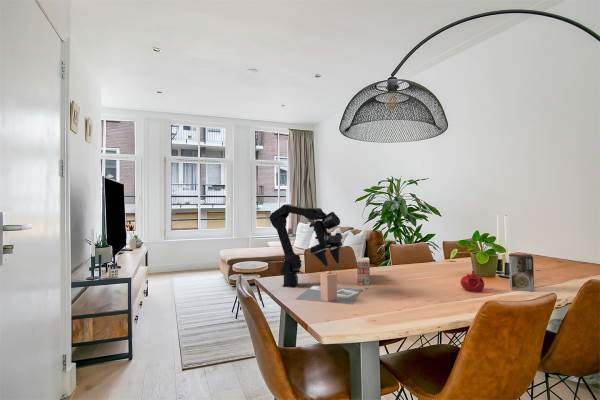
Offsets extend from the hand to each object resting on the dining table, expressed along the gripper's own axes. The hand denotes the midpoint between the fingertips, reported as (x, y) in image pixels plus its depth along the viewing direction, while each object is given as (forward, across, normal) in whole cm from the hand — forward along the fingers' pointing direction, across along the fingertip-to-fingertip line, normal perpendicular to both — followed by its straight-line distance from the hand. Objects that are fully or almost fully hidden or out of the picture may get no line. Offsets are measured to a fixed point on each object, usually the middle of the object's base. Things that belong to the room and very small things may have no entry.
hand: (332, 264), depth 154 cm
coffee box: (+38, +60, -56) cm, 91 cm away
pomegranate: (+32, +44, -40) cm, 68 cm away
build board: (+13, -3, +4) cm, 14 cm away
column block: (+14, -11, 0) cm, 18 cm away
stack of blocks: (+12, +32, +7) cm, 35 cm away
